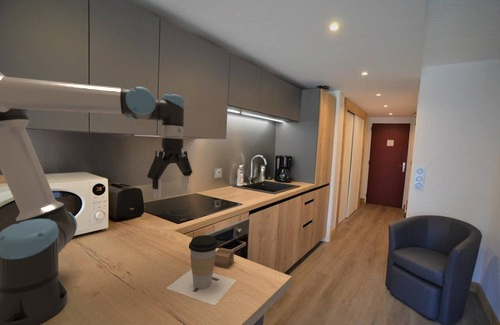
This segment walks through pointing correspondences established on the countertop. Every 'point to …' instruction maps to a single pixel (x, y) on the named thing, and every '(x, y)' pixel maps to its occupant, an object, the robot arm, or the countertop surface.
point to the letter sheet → (206, 295)
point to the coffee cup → (202, 260)
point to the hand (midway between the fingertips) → (171, 194)
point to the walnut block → (224, 258)
